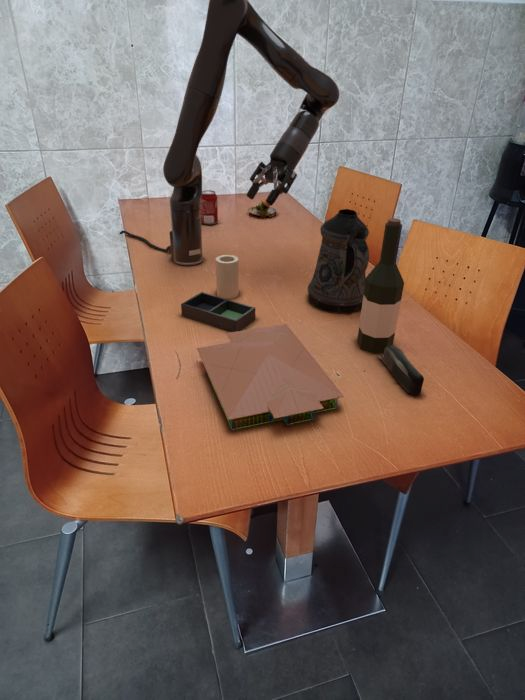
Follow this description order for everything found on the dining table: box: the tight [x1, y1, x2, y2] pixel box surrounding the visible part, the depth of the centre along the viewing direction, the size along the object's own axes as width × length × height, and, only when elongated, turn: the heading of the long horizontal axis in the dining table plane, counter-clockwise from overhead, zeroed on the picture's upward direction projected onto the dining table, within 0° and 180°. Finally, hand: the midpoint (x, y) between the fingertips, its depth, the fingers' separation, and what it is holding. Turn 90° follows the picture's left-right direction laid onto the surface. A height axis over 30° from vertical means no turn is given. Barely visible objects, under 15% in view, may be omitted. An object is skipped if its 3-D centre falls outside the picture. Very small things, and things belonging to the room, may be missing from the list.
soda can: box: [200, 189, 219, 226], centre depth 193 cm, size 7×7×12 cm
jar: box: [215, 254, 240, 300], centre depth 138 cm, size 6×6×10 cm
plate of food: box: [247, 199, 277, 220], centre depth 206 cm, size 12×12×8 cm
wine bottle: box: [356, 217, 405, 354], centre depth 111 cm, size 8×8×30 cm
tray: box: [180, 291, 256, 332], centre depth 128 cm, size 17×9×3 cm, turn 59°
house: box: [196, 323, 345, 431], centre depth 103 cm, size 23×33×8 cm
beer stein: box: [307, 208, 370, 314], centre depth 132 cm, size 16×19×25 cm
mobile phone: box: [378, 344, 425, 396], centre depth 106 cm, size 5×3×15 cm
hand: (258, 200), depth 135 cm, fingers open, 8 cm apart
